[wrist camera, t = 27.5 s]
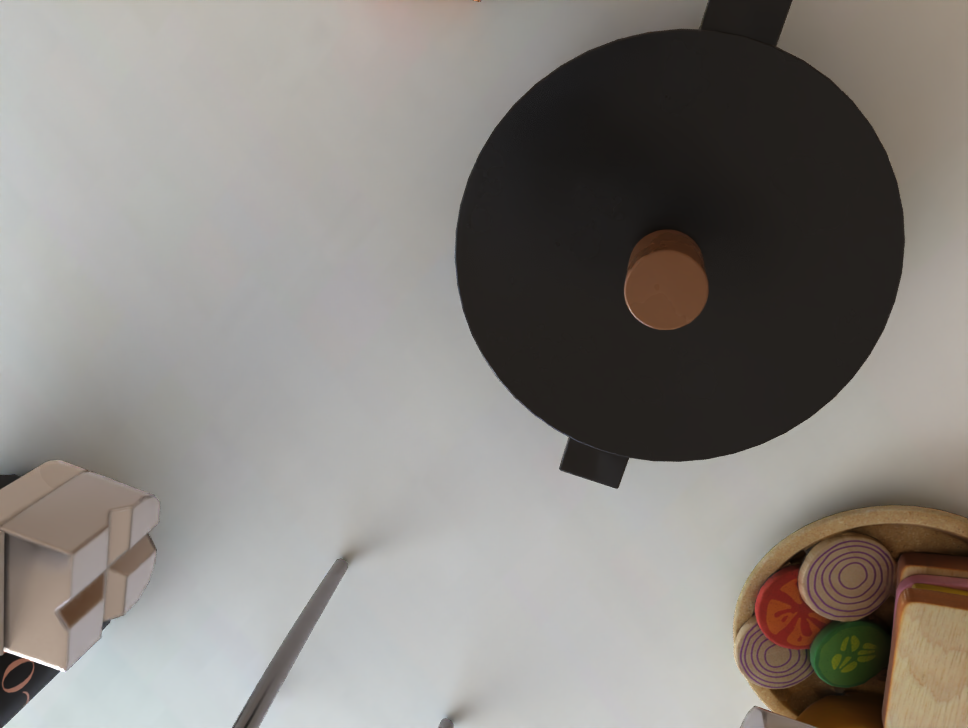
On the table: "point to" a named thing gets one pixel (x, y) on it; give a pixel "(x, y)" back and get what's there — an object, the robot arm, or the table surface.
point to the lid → (679, 245)
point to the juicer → (294, 653)
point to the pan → (731, 8)
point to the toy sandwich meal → (861, 621)
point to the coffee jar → (21, 668)
